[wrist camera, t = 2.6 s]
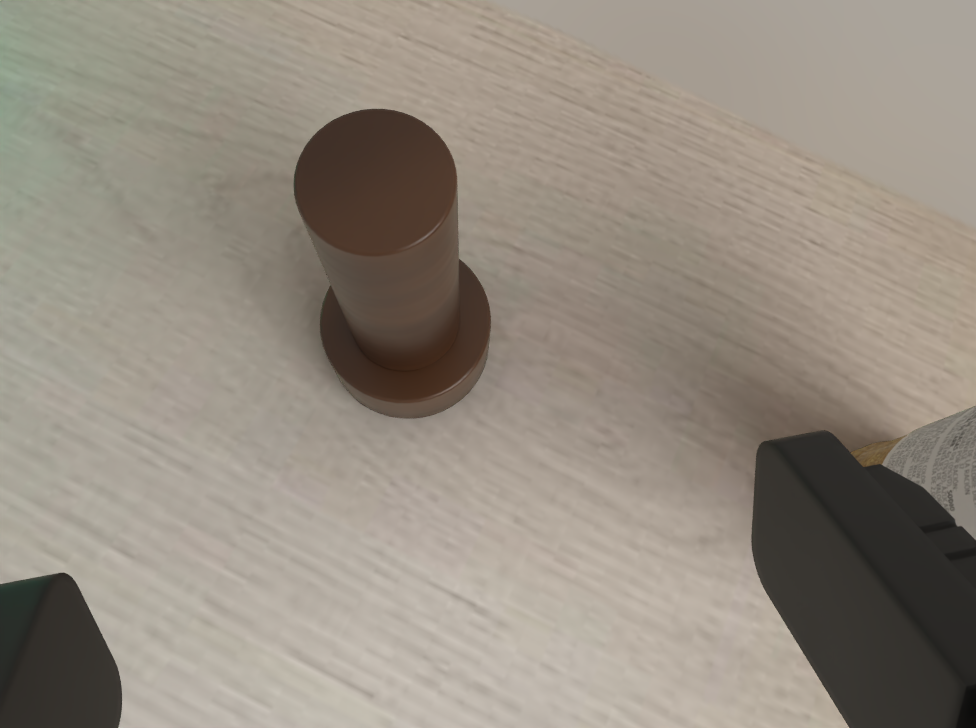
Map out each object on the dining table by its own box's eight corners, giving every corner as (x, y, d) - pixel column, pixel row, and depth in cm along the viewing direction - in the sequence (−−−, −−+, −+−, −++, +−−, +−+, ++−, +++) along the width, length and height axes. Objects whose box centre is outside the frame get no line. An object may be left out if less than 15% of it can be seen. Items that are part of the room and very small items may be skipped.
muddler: (521, 350, 23) (557, 193, 14) (398, 451, 23) (353, 353, 13) (421, 239, 24) (394, 23, 15) (299, 333, 23) (193, 164, 14)
